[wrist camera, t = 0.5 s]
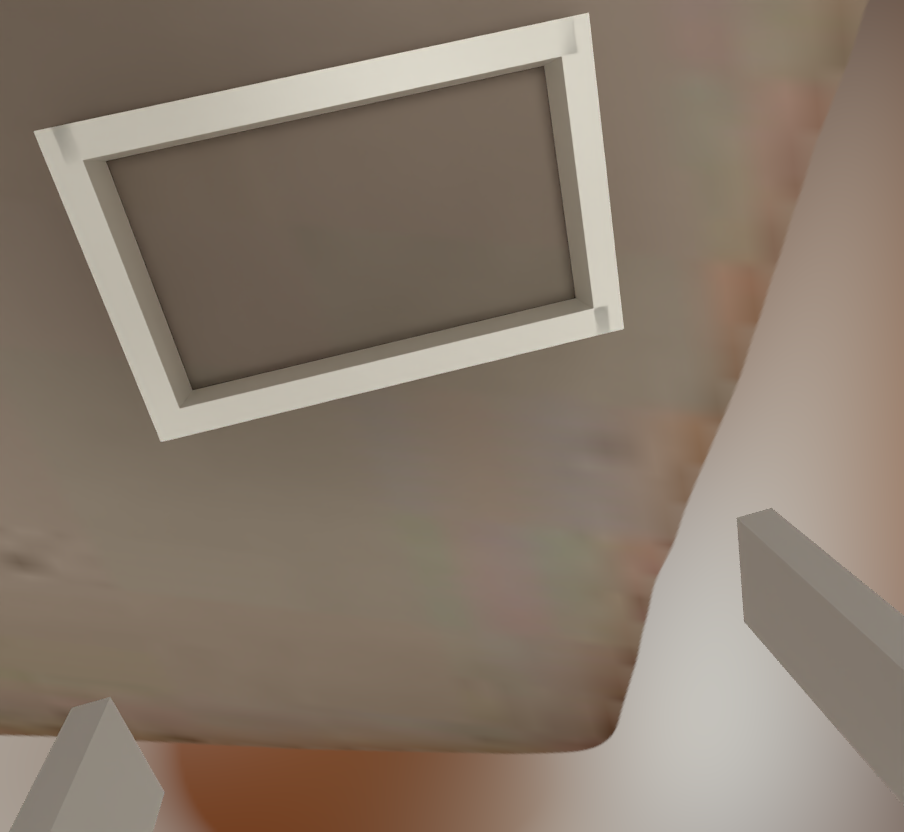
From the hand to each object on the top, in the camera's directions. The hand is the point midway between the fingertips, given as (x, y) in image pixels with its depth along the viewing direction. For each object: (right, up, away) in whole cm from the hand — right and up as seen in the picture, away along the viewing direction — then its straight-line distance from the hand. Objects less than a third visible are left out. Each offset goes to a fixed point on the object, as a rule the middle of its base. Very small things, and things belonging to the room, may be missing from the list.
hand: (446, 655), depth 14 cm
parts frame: (-5, +14, +21) cm, 26 cm away
